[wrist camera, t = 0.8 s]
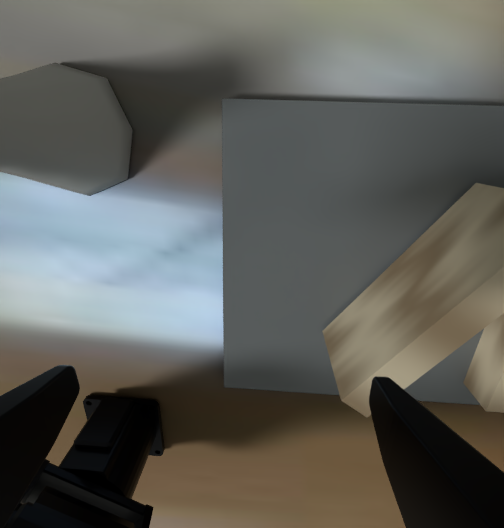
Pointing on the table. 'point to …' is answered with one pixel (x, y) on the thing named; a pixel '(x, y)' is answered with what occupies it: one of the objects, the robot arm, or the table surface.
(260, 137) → the slate board
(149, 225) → the table surface
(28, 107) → the flask
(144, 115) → the table surface
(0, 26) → the table surface
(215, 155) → the table surface
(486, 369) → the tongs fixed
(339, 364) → the beige flat block
